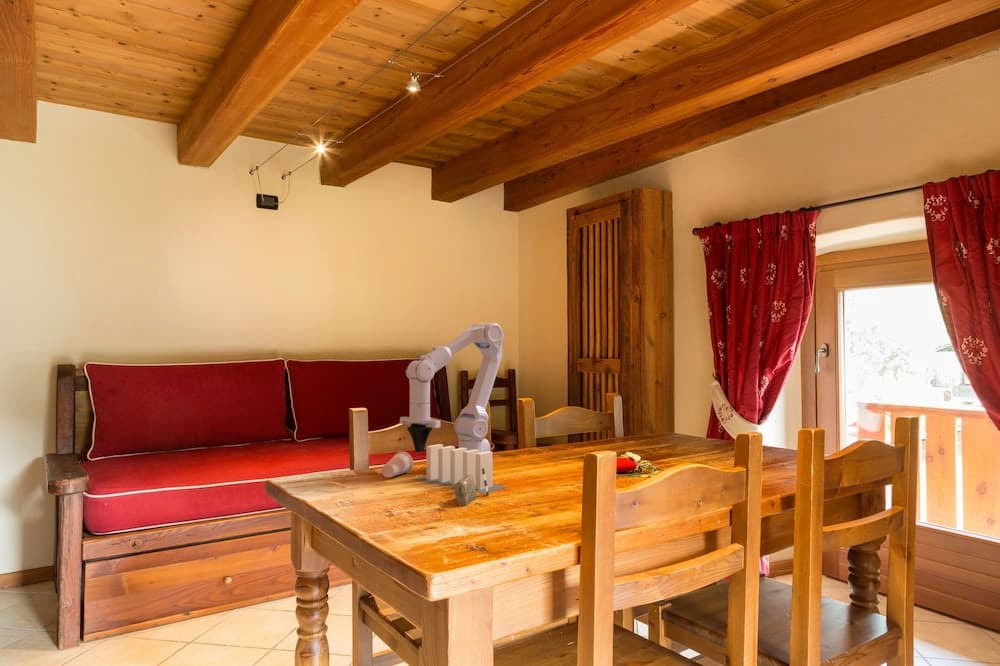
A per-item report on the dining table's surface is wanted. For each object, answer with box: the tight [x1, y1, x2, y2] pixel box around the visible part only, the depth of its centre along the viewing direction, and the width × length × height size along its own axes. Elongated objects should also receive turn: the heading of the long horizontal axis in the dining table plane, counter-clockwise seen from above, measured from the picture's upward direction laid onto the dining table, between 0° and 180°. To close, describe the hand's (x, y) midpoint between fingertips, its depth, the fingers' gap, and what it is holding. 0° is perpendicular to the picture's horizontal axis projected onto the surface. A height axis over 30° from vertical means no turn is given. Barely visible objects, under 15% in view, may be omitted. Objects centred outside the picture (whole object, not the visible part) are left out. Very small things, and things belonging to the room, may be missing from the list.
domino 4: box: [463, 449, 480, 485], centre depth 167 cm, size 2×5×9 cm, turn 140°
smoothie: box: [381, 451, 414, 479], centre depth 181 cm, size 6×6×14 cm
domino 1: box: [425, 443, 444, 480], centre depth 175 cm, size 2×5×9 cm, turn 141°
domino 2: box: [438, 445, 456, 482], centre depth 172 cm, size 2×5×9 cm, turn 141°
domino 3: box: [450, 447, 467, 485], centre depth 170 cm, size 2×5×9 cm, turn 140°
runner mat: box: [411, 475, 508, 495], centre depth 170 cm, size 10×26×1 cm, turn 50°
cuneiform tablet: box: [453, 468, 490, 507], centre depth 152 cm, size 7×4×12 cm
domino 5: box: [476, 450, 494, 490], centre depth 164 cm, size 2×5×9 cm, turn 140°
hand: (419, 451), depth 179 cm, fingers closed
